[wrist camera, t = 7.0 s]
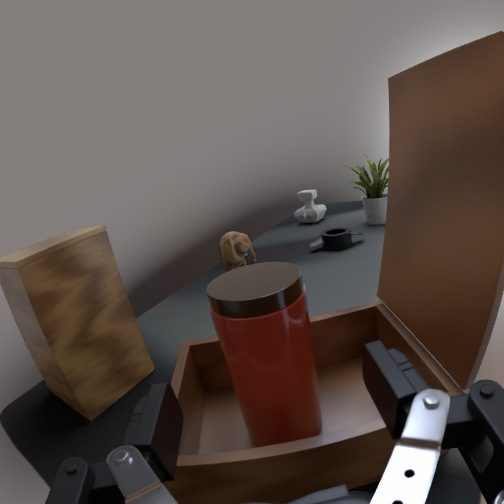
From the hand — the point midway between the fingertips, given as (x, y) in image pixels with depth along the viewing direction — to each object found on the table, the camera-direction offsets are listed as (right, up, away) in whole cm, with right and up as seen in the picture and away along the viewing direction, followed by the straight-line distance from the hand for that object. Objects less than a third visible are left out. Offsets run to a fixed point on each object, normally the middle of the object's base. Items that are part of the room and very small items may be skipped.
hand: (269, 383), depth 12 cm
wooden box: (+3, -8, +9) cm, 13 cm away
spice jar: (+2, -8, +9) cm, 12 cm away
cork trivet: (-21, +5, +15) cm, 27 cm away
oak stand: (-18, -10, +19) cm, 28 cm away
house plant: (+31, +12, +60) cm, 69 cm away
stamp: (+15, +13, +74) cm, 77 cm away
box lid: (+10, +9, +5) cm, 14 cm away
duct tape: (+16, +6, +50) cm, 53 cm away
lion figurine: (-2, +1, +45) cm, 45 cm away
